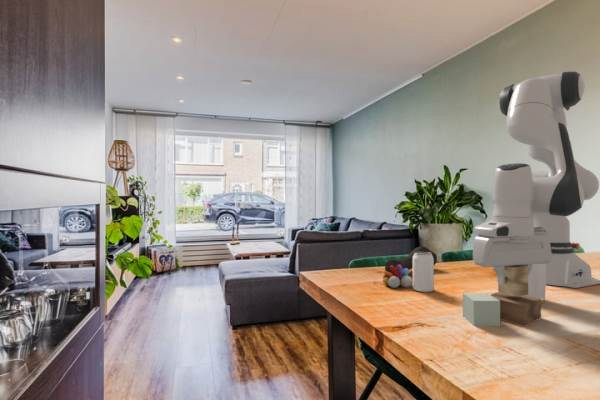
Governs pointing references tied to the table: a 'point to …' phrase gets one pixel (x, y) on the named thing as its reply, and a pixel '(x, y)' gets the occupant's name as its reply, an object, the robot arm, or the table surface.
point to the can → (423, 272)
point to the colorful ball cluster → (397, 277)
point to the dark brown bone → (408, 259)
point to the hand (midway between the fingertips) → (512, 282)
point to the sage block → (481, 309)
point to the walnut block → (518, 308)
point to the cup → (537, 282)
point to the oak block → (515, 280)
